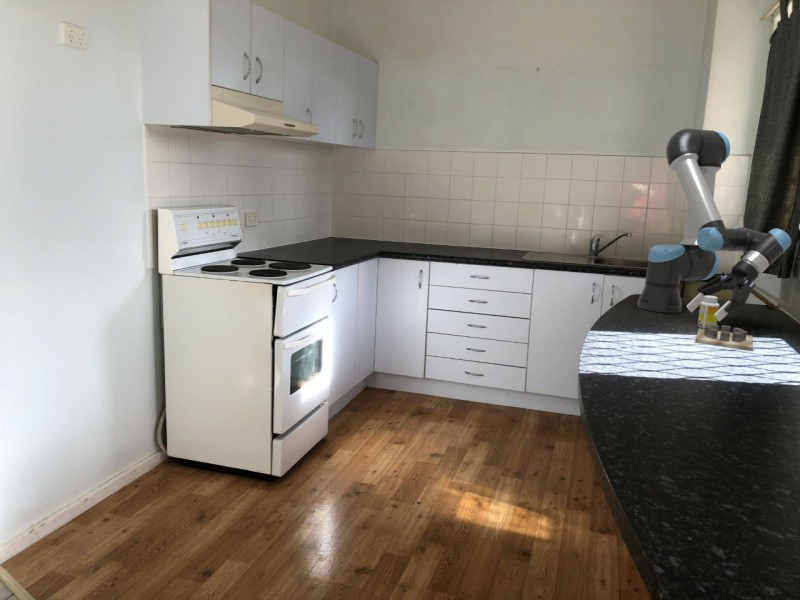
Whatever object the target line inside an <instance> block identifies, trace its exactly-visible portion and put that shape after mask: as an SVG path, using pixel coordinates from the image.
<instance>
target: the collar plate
mask: <svg viewBox="0 0 800 600" xmlns="http://www.w3.org/2000/svg"><path fill="white" fill-rule="evenodd" d="M719 327H720V325H709V326H705V329H704V328H700V327H698V330H697V333H696V336H695V341H694V342H695V343H698V344H705V345H710V346H711V345H712V346H717V345H718V347H723V348H724V347H725V348H731V349H739V350H745V351H754V340H753V339H754V338H753V335H749V334H748V331H746V330H744V329H742V328H739V327H733V328H732V327H731V326H730V325H721V329H720V331H719ZM731 328H732V332H731Z"/></svg>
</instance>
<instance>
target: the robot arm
mask: <svg viewBox="0 0 800 600" xmlns="http://www.w3.org/2000/svg"><path fill="white" fill-rule="evenodd" d="M665 149H666V150H665V151H666V152H665V154H666V155H665V156H666V159H667V163H668V166H669V168H670V170H671V171H674V172H675V175H676V177H677V179H678V181H679V182H678V183H679V184H680V186H681V189H682V191H683V193H684V196H685V198H686V201H687V203H686V204H687V206H686V215H685V227H684V237H683V239H682V240H681V241H680V242H679V243H678V244H675V243H674V244H673V243H672V244H671V243H666V244H664V243H663V244H658V245H657V244H656V245H654V246H652V247H650V249H649V252H648V253H649V254H648V256H647V266H646V274H645V275H646V276H645V281H644V282H645V284H644V288H643V289H642V291H641V293H640V296H639V298H638V300H637V304H636V305H637V307H638V308H639V309H642V310H646V311H651V312H659V313H666V314H667V313H669V314H670V313H671V314H674V313H675V314H677V313H681V312H682V309H683V304H682V299H681V294H680V284H681V281H695V282H699V281H706V280H710V279H711V278H712V277H713V276H714V275H715V274H716V273H717V271H718V269H719V267H720V256H719V255H718V253H717V252H743V253H746V254H745V255H743V257H742V258H741V259H740V260H739V261H738V262H736V263H735V264H734V266H732V268H731V273H729V274H728V275H727V274H725V272H721V273H720V274H719V275H718V276H716V277H715V278H713V279H711V280H710V281H708V282H706V283H704V284H703V285H701V286H699V287H698V288H697V289H696V291H697V292H698V294H697V295H696V296H695V297H693V298H692V300H691V301H690V302H689V303H688V304H687V305H686V308H687V310H688V311H689V312H690V313H693V312H695V310H696V309H697V308H698V307H700V304H701V302H703V301H704V296H712V295H714V294H715V293H718V292H721V291H727V290H729V291H730V290H731V291H732V295H731V299H730V300H728V301H726V302H725V303H724V304H723V305H722V306H721V307H719V310H718V311H717V312H716V313H715V314H714V316H715V317H716V319H717V322H721V320H723V319H724V318H725V317H726V316H727V315H728V314H730V313H731V312H732V311H733V310H735V308H737V307H745V305H746V303H747V301H748V299H749V297H750V294H751V292H752V290H753V289H754V288H755V287H756V284H755V280H756V279H758V278H759V276H761V274H763V273H764V272H765V271H766V269H767V268H768V267H770V266H771V265H772V264H773V263H774V262H775V261H776V260H777V259H778V258H779V257H780V256H781V255H783V254H784V253H785V252H786V251H787V249H788V248H789V247H790V246H791V244H792V239H791V237H790V235H789V234H788V233H787V232H786V231H784V230H782V229H780V228H776V227H775V228H773V229H771V230H768V232H767V233H766V232H760V231H756V230H753V229H750V228H747V227H742V226H741V227H740V226H734V227H731V228H729V227H726V225H725V223H724V221H723V218H722V216H721V214H720V211H719V210H718V207H717V205H716V202H715V199H714V198H715V197H714V196H715V188H716V187H715V186H716V176H717V175H716V174H717V173H718V172H719V171H721V169H722V164H723V163H725V162H726V161H727V158H729V156H730V153H731V143H730V140H729V138H728V137H727V136H726V135H725V134H724V133H723V132H721V131H715V130H713V129H711V130H707V129H696V128H683V129H680V130H679V131H677V132H675V133H674V134H673V135H672V136H671V137H670V139H669V140H668V142H667V145H666V148H665Z"/></svg>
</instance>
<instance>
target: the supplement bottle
mask: <svg viewBox="0 0 800 600" xmlns="http://www.w3.org/2000/svg"><path fill="white" fill-rule="evenodd" d="M719 309H720V303H718V296H715V295H709V296H704V301H703V302H701V304H700V305H699V312H698V319H697V327H698V328H700V329H705V326H709V325H717V324H718V320H717V319H716V317H715V316H714V314H715V313H716V312H717V311H718V310H719ZM717 326H718V325H717Z"/></svg>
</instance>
